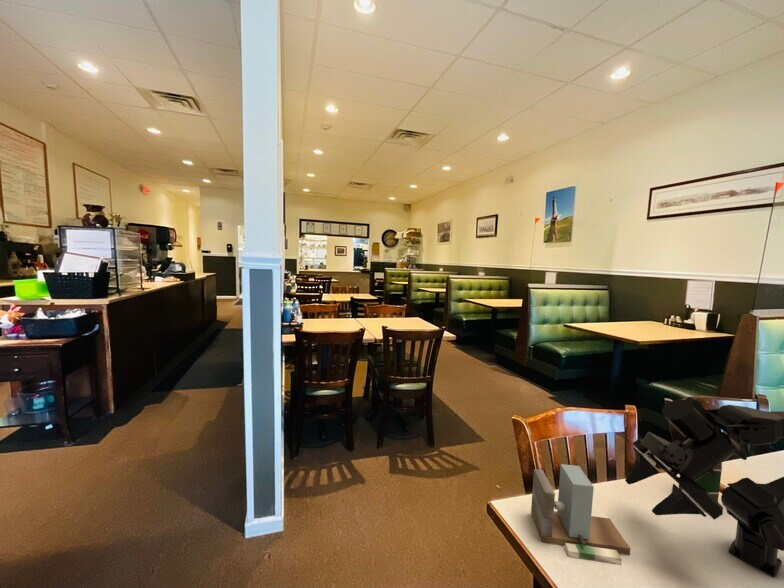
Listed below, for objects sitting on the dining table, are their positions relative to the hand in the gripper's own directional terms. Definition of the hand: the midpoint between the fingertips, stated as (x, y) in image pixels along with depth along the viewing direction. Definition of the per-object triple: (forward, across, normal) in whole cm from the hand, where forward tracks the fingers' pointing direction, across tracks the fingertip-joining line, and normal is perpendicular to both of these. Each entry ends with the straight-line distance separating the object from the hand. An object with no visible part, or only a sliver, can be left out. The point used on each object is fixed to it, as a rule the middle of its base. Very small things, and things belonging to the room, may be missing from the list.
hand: (639, 496), depth 68 cm
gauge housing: (+16, +1, -2) cm, 16 cm away
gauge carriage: (+16, +1, -4) cm, 16 cm away
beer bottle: (-9, -17, +25) cm, 31 cm away
